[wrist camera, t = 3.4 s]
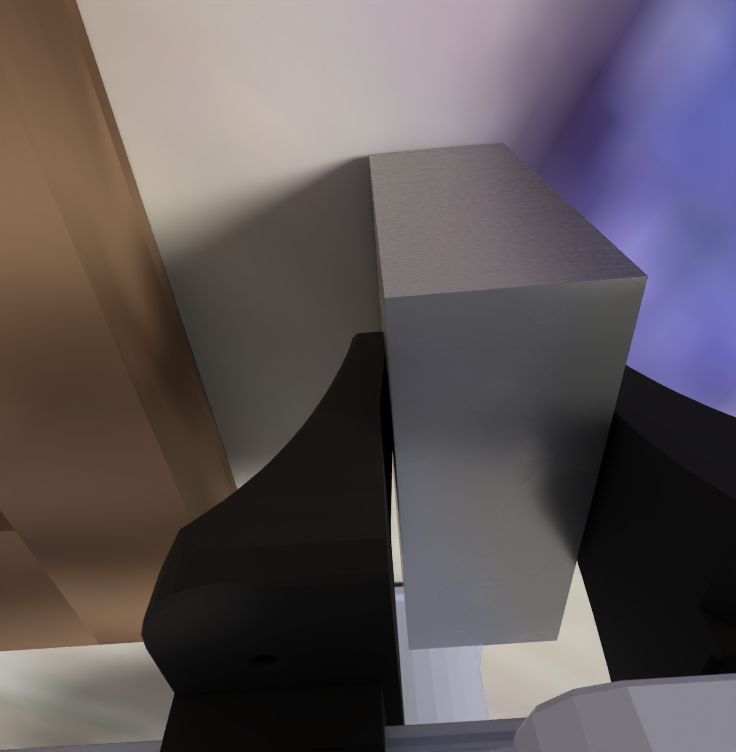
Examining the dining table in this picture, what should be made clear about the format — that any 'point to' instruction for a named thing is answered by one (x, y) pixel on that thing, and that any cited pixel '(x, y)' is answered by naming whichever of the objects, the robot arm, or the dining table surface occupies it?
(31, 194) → the well
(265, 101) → the dining table surface
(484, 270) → the tall grey cuboid
